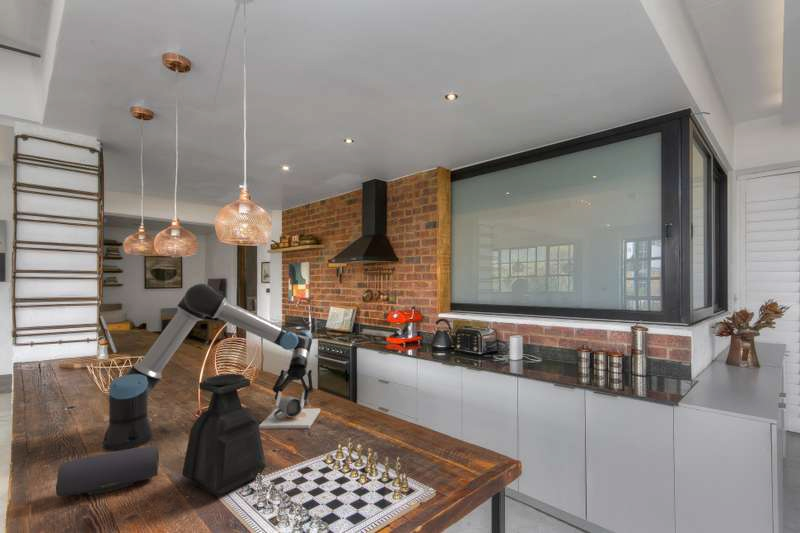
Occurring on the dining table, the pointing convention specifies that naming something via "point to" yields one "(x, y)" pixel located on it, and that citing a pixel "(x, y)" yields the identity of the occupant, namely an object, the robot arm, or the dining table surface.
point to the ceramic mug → (288, 407)
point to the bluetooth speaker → (107, 471)
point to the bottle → (224, 439)
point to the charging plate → (291, 419)
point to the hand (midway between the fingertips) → (289, 407)
